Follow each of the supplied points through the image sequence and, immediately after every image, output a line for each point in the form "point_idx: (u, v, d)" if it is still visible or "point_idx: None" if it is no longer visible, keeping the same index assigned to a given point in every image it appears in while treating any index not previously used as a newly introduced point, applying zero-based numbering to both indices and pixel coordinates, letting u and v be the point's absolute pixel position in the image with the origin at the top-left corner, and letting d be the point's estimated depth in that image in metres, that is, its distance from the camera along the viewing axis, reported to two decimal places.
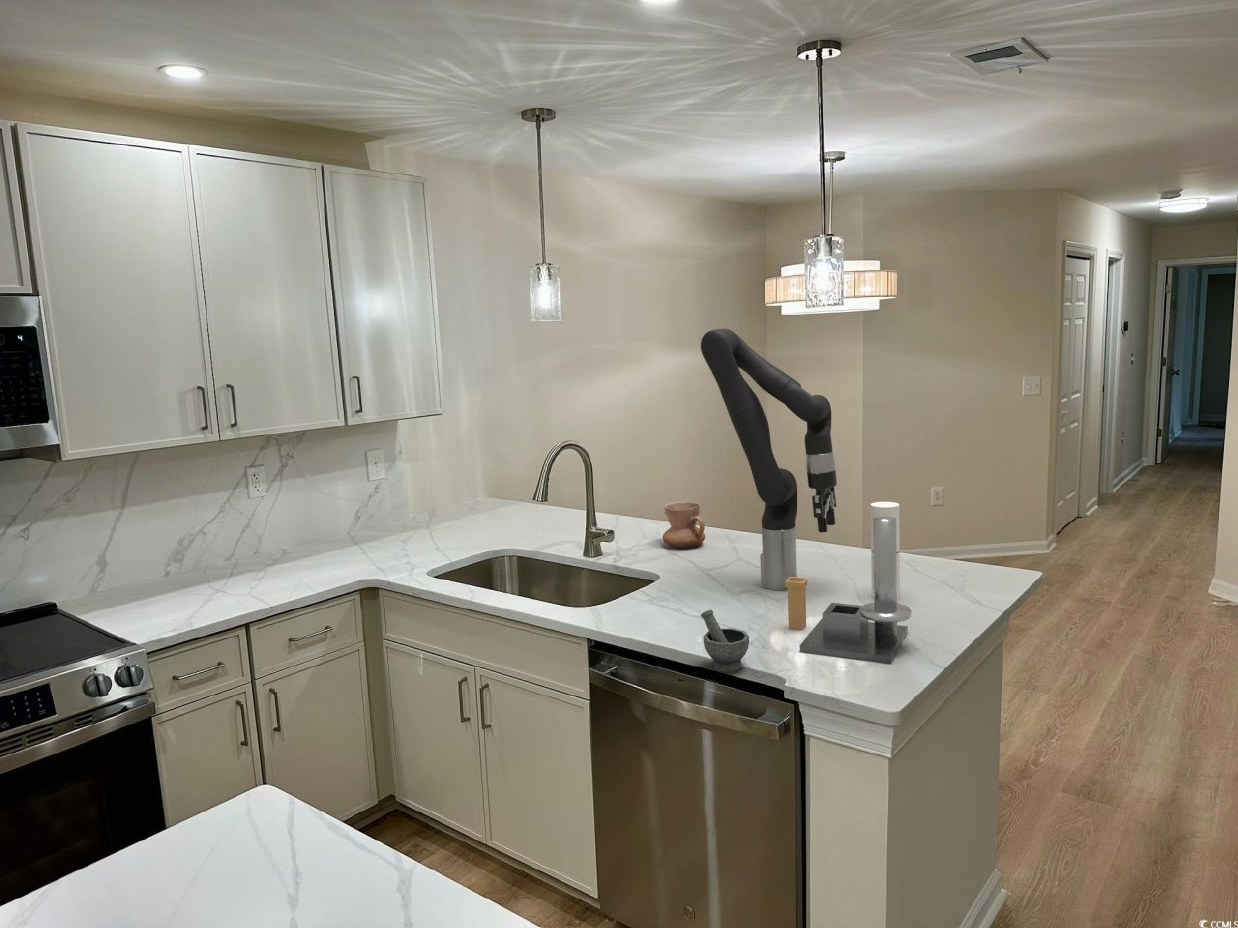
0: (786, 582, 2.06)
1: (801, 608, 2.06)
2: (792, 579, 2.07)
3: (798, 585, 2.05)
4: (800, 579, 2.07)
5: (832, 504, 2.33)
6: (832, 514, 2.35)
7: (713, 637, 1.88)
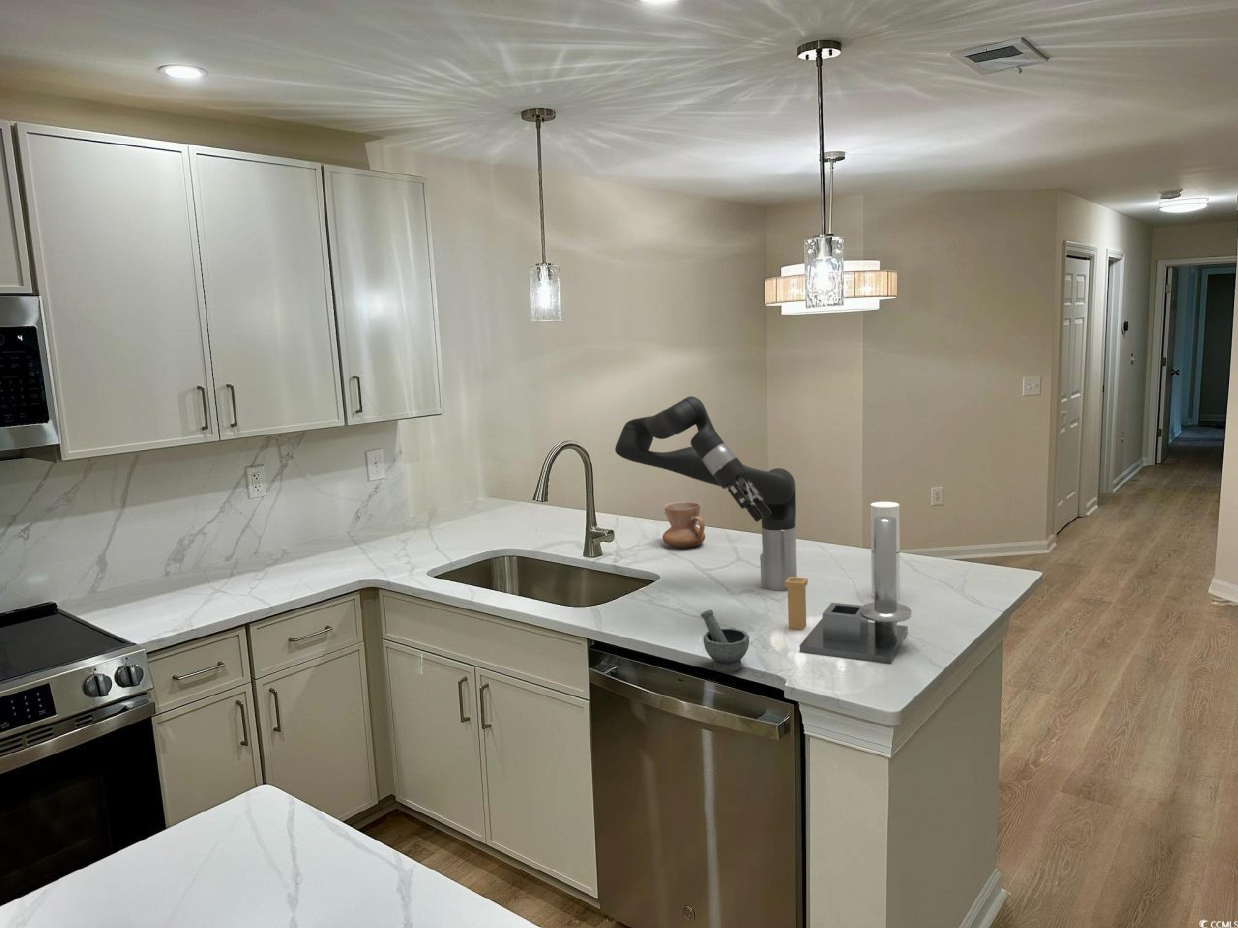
0: (786, 582, 2.06)
1: (801, 608, 2.06)
2: (792, 579, 2.07)
3: (798, 585, 2.05)
4: (800, 579, 2.07)
5: (756, 494, 2.13)
6: (763, 504, 2.14)
7: (713, 637, 1.88)
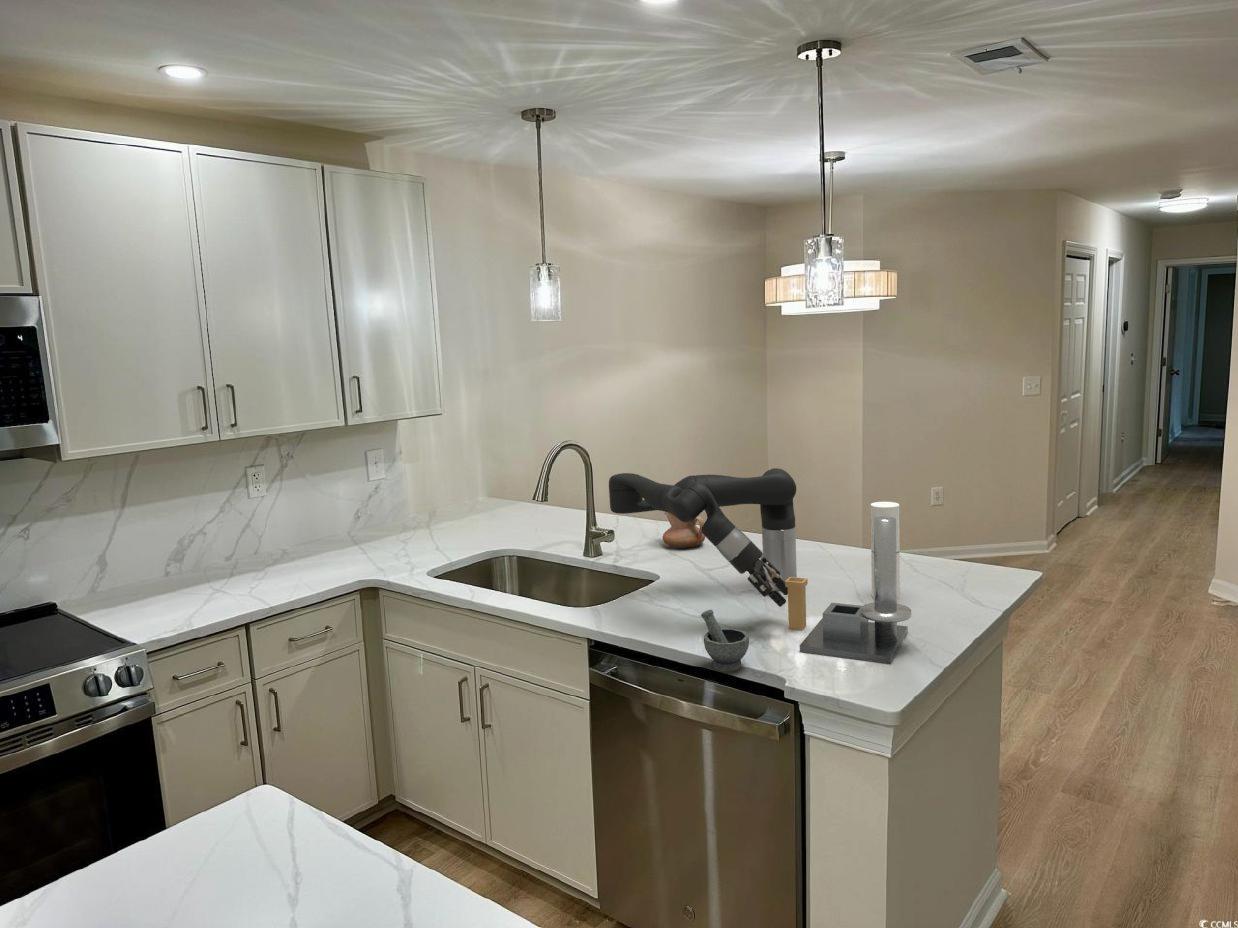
0: (786, 582, 2.06)
1: (801, 608, 2.06)
2: (792, 579, 2.07)
3: (798, 585, 2.05)
4: (800, 579, 2.07)
5: (774, 573, 2.10)
6: (782, 582, 2.11)
7: (713, 637, 1.88)
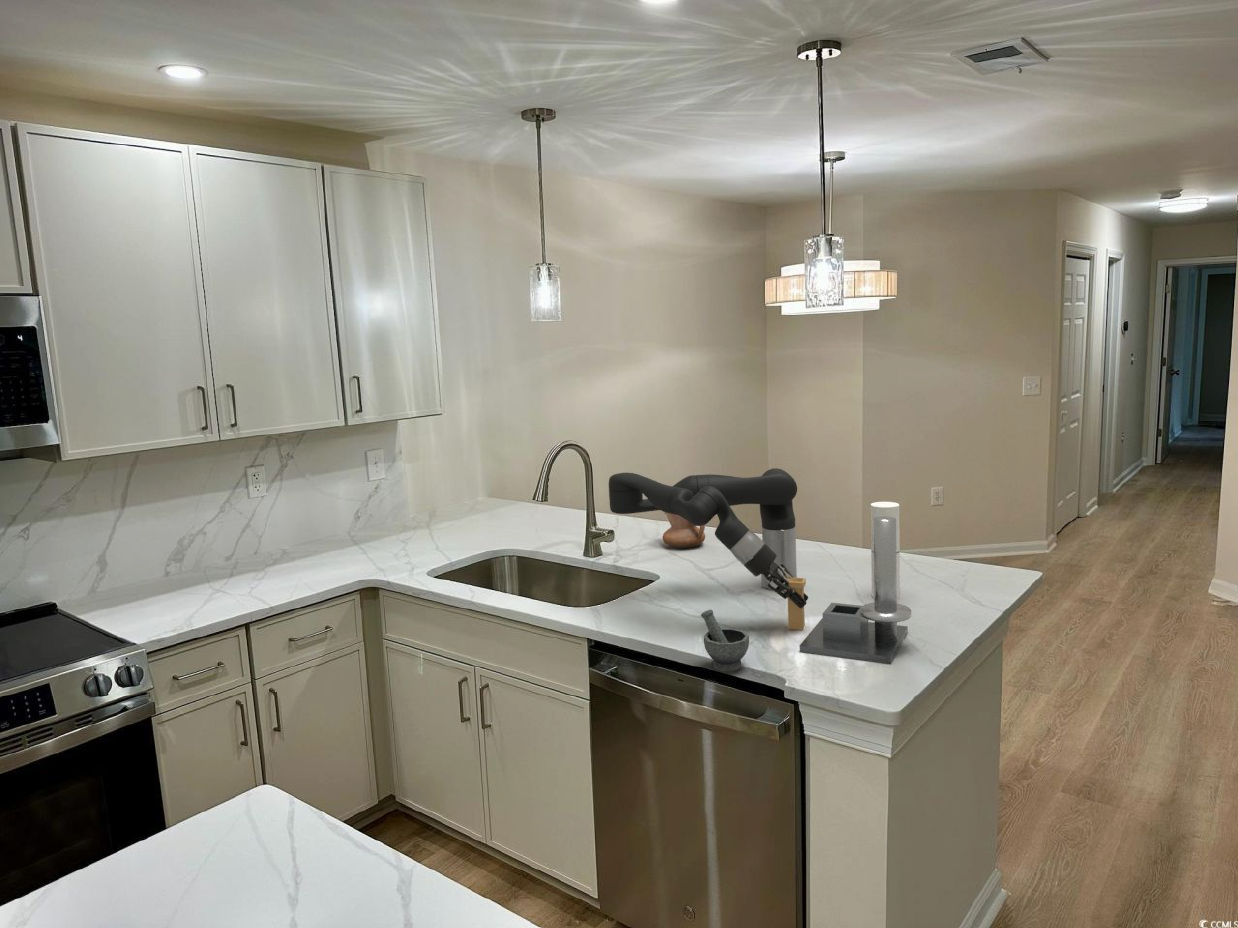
0: None
1: (801, 608, 2.06)
2: (791, 580, 2.07)
3: (798, 585, 2.05)
4: (799, 579, 2.07)
5: None
6: None
7: (713, 637, 1.88)
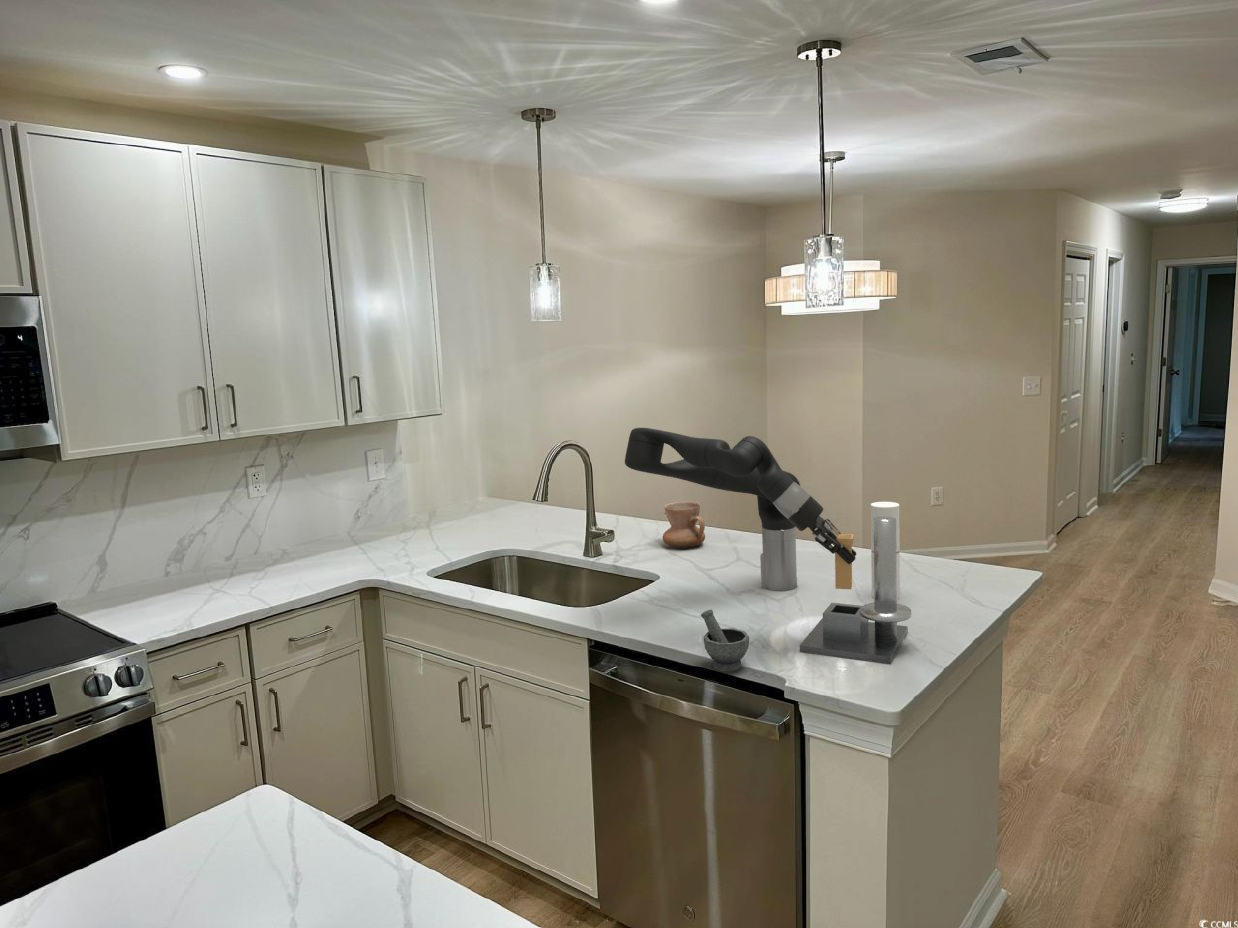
0: None
1: (850, 566, 1.94)
2: (839, 536, 1.94)
3: (847, 541, 1.92)
4: (847, 535, 1.95)
5: (836, 533, 1.96)
6: None
7: (713, 637, 1.88)
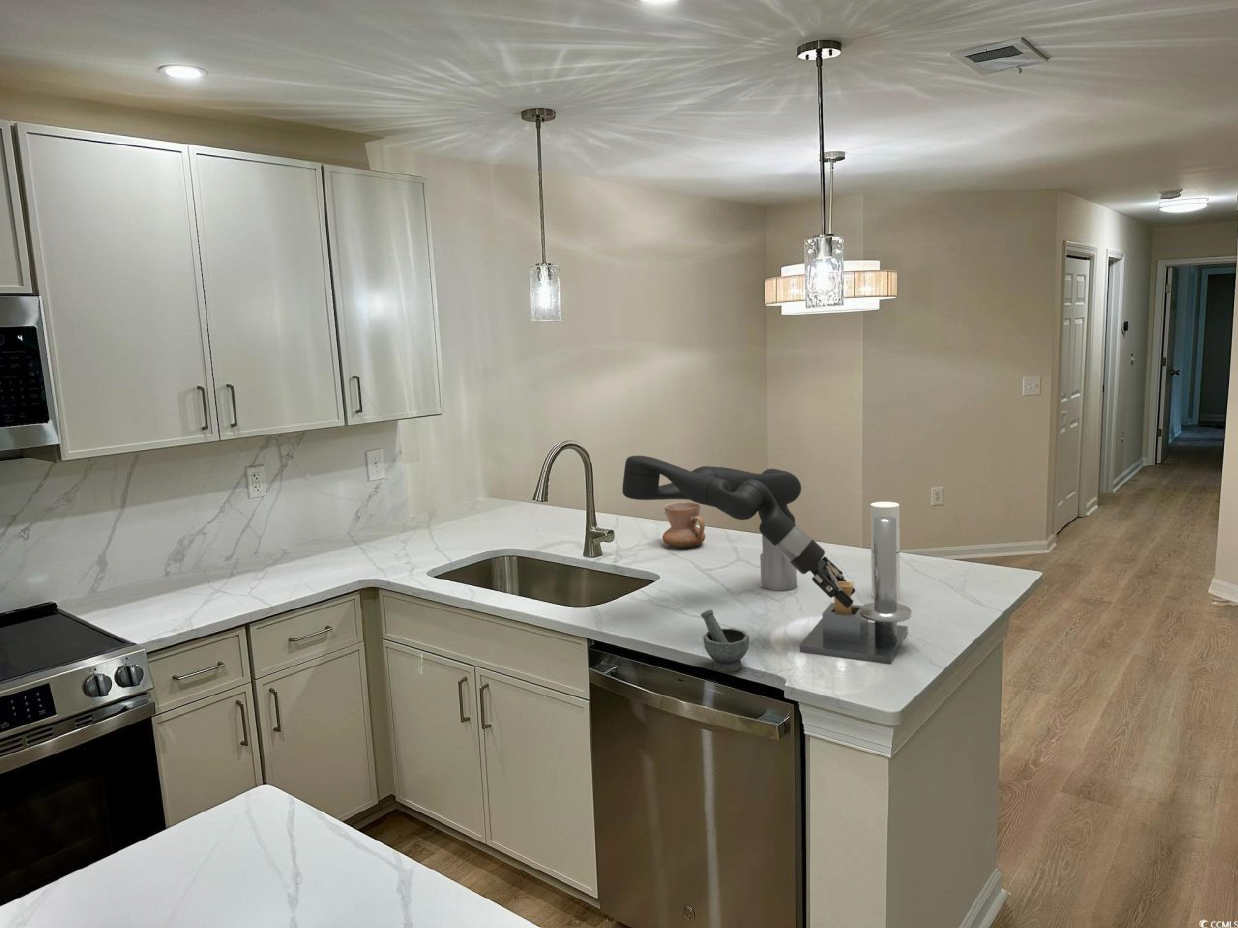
0: None
1: (849, 613, 1.96)
2: (838, 584, 1.97)
3: (846, 589, 1.95)
4: (846, 583, 1.97)
5: (837, 573, 1.99)
6: None
7: (713, 637, 1.88)
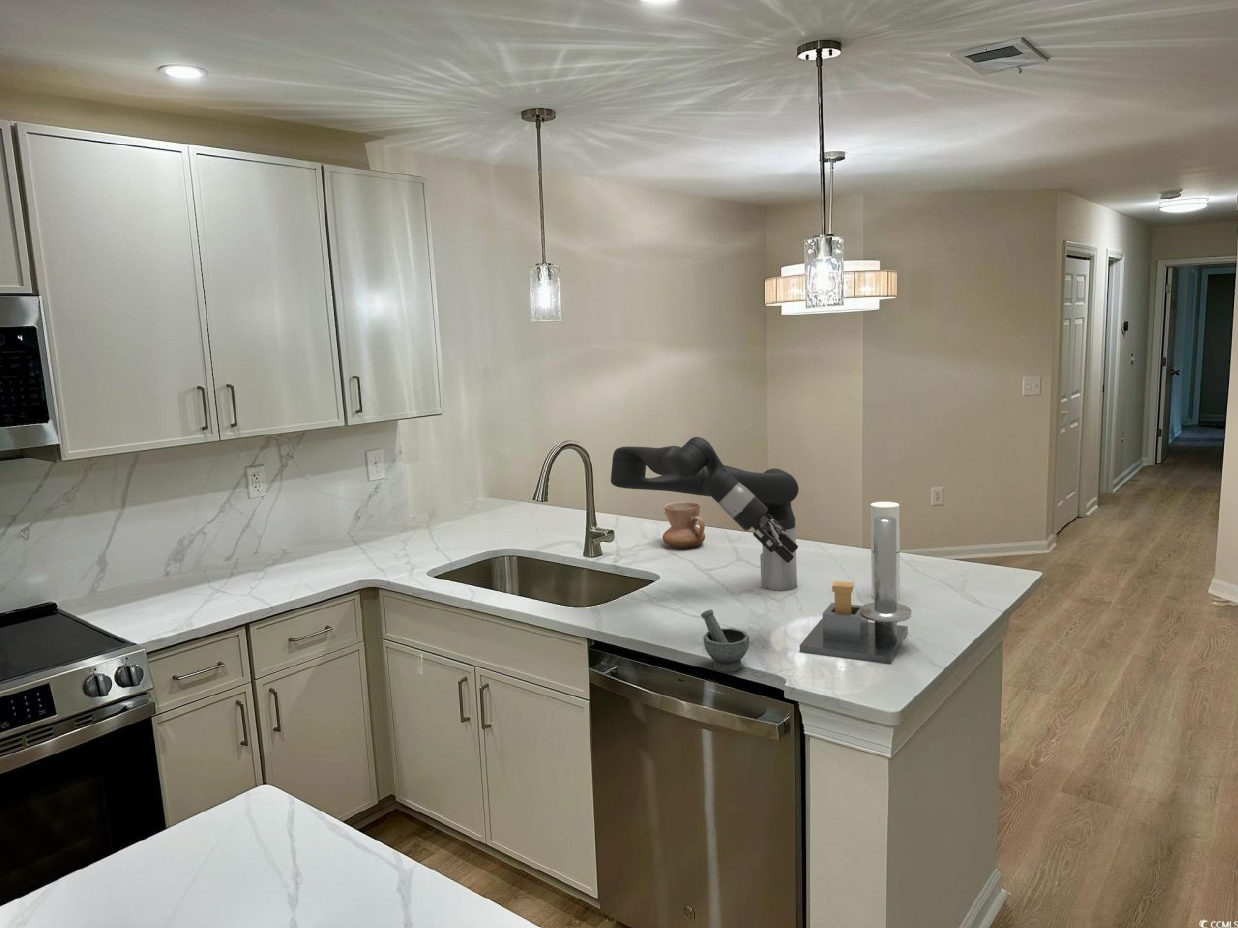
0: (833, 587, 1.96)
1: (849, 613, 1.96)
2: (839, 584, 1.97)
3: (846, 589, 1.95)
4: (846, 583, 1.97)
5: (780, 530, 2.02)
6: (788, 539, 2.03)
7: (713, 637, 1.88)
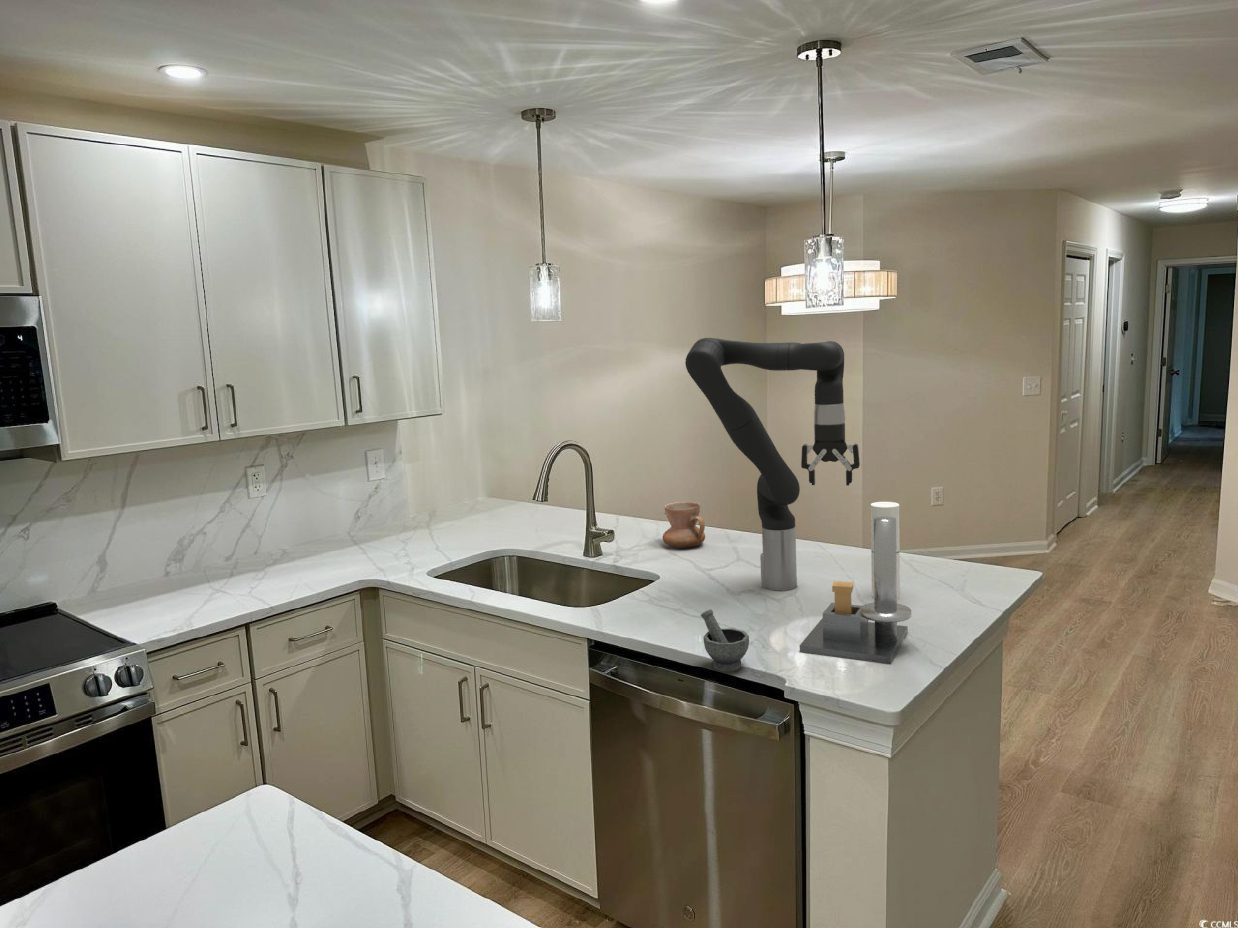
0: (833, 587, 1.96)
1: (849, 613, 1.96)
2: (839, 584, 1.97)
3: (846, 589, 1.95)
4: (846, 583, 1.97)
5: None
6: (814, 472, 2.19)
7: (713, 637, 1.88)
